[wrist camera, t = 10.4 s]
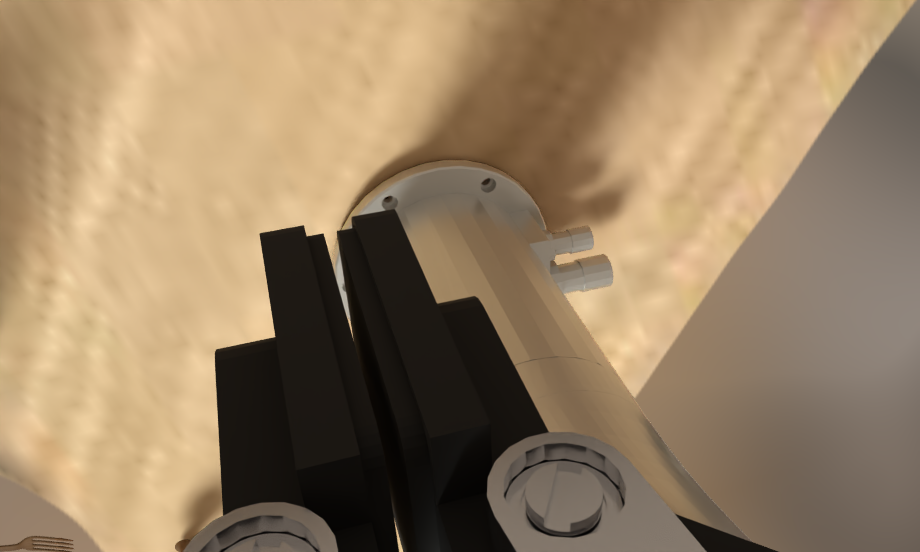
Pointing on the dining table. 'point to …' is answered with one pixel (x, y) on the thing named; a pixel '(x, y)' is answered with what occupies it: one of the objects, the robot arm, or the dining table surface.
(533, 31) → the dining table surface
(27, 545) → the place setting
